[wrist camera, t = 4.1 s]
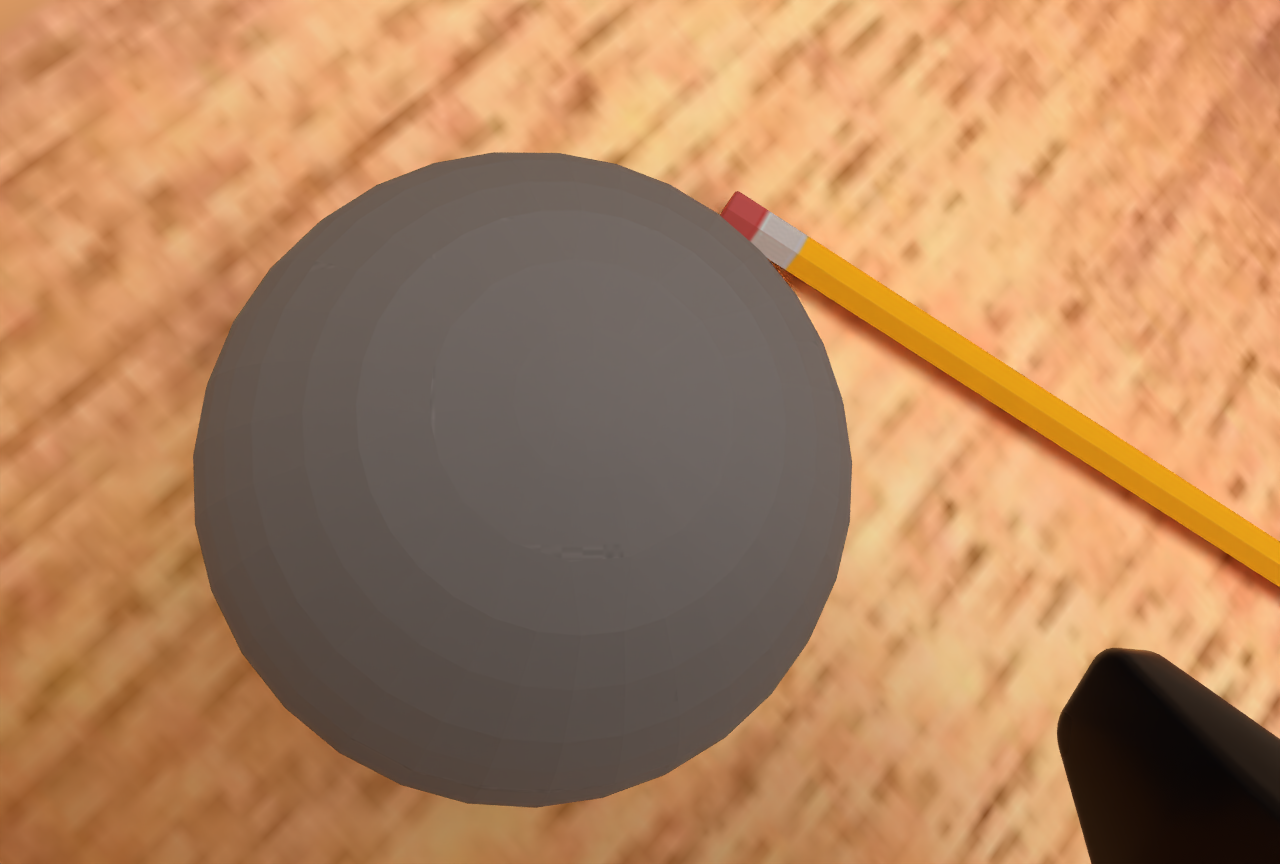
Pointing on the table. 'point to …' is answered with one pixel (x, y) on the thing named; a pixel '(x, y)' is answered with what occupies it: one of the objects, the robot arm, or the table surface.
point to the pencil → (1003, 386)
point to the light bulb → (522, 479)
